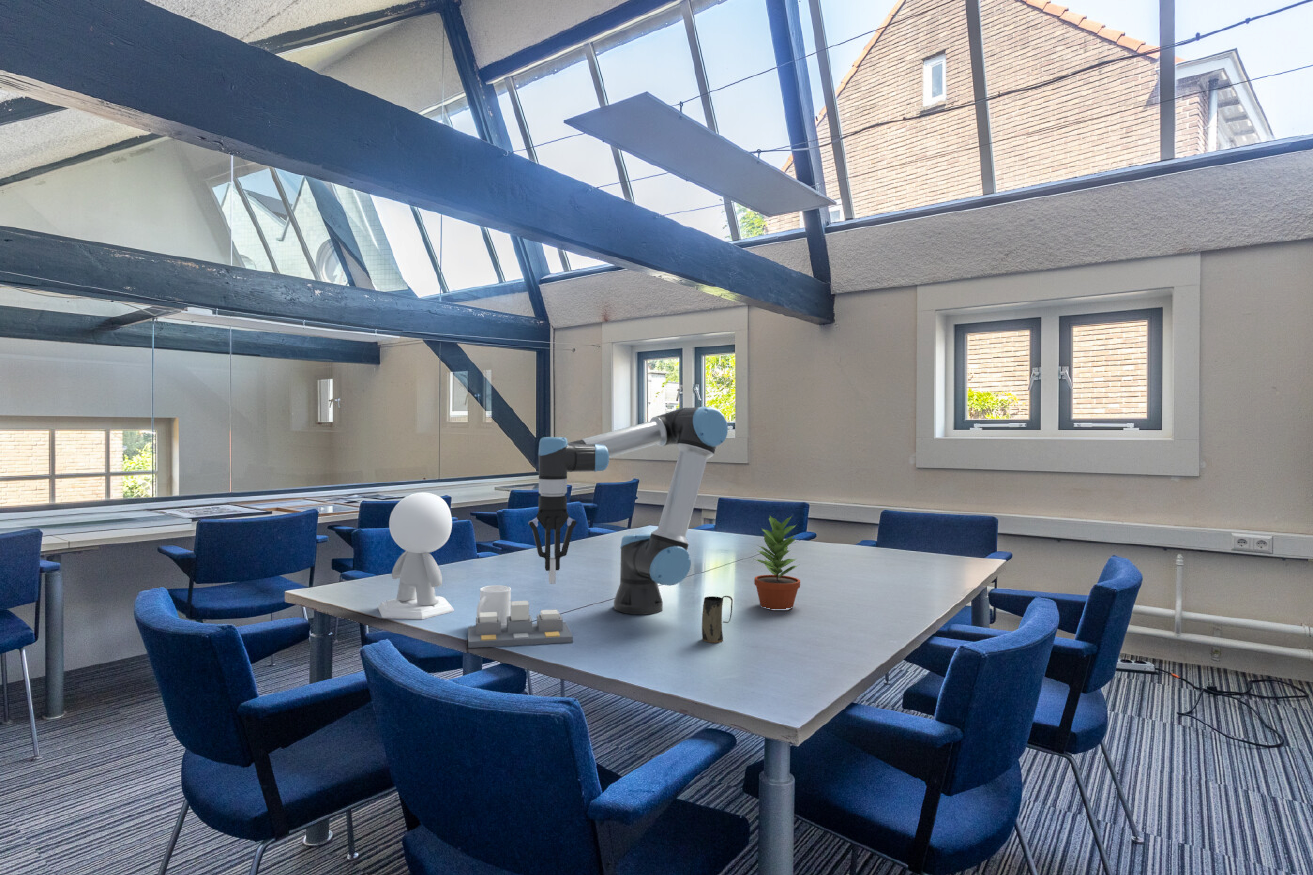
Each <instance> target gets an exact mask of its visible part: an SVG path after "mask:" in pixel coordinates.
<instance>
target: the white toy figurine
mask: <svg viewBox="0 0 1313 875" xmlns="http://www.w3.org/2000/svg"><path fill="white" fill-rule="evenodd" d="M452 518H453V517H452V513H451V509H450V507H449V504H447V502H446V500H445V499H443V498H442V497H441V496H439V495H437V494H435V493H431V492H425V491H424V492H422V491H421V492H415V493H412V494H409V495H407V496H405V497H403V498H402V499H401V500H399V502H398V503H396V504H395V506H394V507H393V509H392V510H391V513H390V516H389V521H388V526H389V533H390V535H391V537H392V539H393V541H394V543H396V545H398V547H400V548H401V549H403V550H404V552H402V554H401V555H399V557H398V558H397V560H396V562H395V563H394V565H393V567H392V571H391V577H392V579H393V580H398V579H399V583H398V588H397V595H396V596H397V597H396V598H393V599H388V600H386V601H382V602H380V604H379V605H378V606H377V608H378V612H379V614H380V616H381V618H382V619H399V620H400V619H401V620H424V619H425V620H427V619H429V618H433V617H438V616H441V615H445V614H448V613H449V614H450V613H453V612H454V611H455V609H454V607H453V606H452V605H451V604H450V602H449V601H448V600H447V599H446V597H443V596H439V595H436V590H435V588H440V587H441V586H443V585H442V584H443V576H442V572H441V570H440V567H439V565H438V564H437V561H436V560H435V558H434V557H433V556H432V554H431V553H432V552H433V553H434V552H435V551H437V550H439V549H441V548H442V547H443V546H444V545H445V544H446V543H447V542H448V540H449V539H450V535H451V533H452V530H453V529H452V527H453V519H452Z"/></svg>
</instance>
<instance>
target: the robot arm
mask: <svg viewBox="0 0 1313 875" xmlns="http://www.w3.org/2000/svg"><path fill="white" fill-rule="evenodd" d="M728 427H729V426H728V422H727V419H726V418H725V415H724V414H723V412H721V411H720V410H719V409H717V408H715V407H711V406H698V407H680V408H677V409H674V410H672V411H669V412H666V413H665V412H664V413H663V414H660V415H656V416H653V417H652V418H650V420H649V421H646V422H643V423H640V424H639V423H638V424H635V425H631V426H627V427H623V428H620V429H617V430H611V431H609V432H605V433H604V432H603V433H600V434H597V435H592V436H588V437H586V438H581V439H577V440H573V441H570V442H568V438H566V436H563V437H562V436H558V437H557V436H556V437H555V436H546V437H545V436H544V437H541V438H540V439H539V444H538V445H539V446H538V453H537V454H538V494H539V496H538V511H537V513H536V517H535V518H534V519H532V520H529V521H528V522H527V523H528V526H529V527H530V529H531V530H532V534H533V537H534V542H535V546H536V551H537V555H538V556H539V558H540V557H541V558H543V559H544V569H545V572H548V582H549V585H550V584H551V585H552V584H553V585H555V584H556V578H557V577H556V574H557V571H560V570H561V568H560V567H561V558H562V557H566V556H567V554H568V550H569V546H570V543H571V538H572V534H573V530H574V528H575V527H576V525H577V523H578V522H577V520H575V519H573V518H571V517H570V515H569V513H568V507H567V506H568V496H567V495H566V494H567V493H568V473H572V472H575V473H576V472H577V473H578V472H579V473H581V472H582V473H583V472H585V473H587V472H594V473H596V472H604V471H605V470H606V469H607V468H608V466H609V464H610V458H613V457H618V456H620V455H624V454H627V453H628V454H629V453H631V452H634V451H638V450H639V451H640V450H642V449H645V448H650V447H653V446H658V447H660V448H661V447H665V446H669V445H670V446H671V445H676V447H677V449H678V450H679V454H678V456H677V459H676V460H677V462H676V465H675V468H674V472H673V474H672V478H671V481H670V485H669V488H668V492H667V496H666V499H665V502H664V506H663V510H662V513H661V516H660V520H659V523H658V527H657V529H655V530H653V531H652V532H651V533H644V534H643V533H642V534H628V535H624V536H622V538H621V543H620V547H619V548H620V576H619V577H620V579H619V580H620V581H619V585H618V589H617V592H616V593H615V598H614V600H613V609H614V610H615V611H617V612H620V613H622V614H628V615H629V614H630V615H648V614H649V615H650V614H656V613H660V612H661V611H663V608H664V606H663V604H664V602H663V599H662V595H661V592H660V588H659V585H661V586H663V585H664V586H667V587H669V586H675V585H678V584H679V583H681V582H682V581H683V580H684V579H686V578H687V576H688V574H689V572H690V570H691V565H692V563H691V562H692V560H691V557H690V554H689V552H688V550H689V544H690V542H689V541H688V539H687V534H688V533H687V532H688V529H689V527H690V523H691V519H692V517H693V511H694V508H695V504H696V502H697V497H698V494H699V491H700V490H699V489H700V487H701V483H702V480H703V476H704V472H705V469H706V466H707V461H708V460H709V459H710V458H712V457H714V456H715V453H716V448H717V447H718V446H720V445H721V444H723V443H724V441H726V439H727V437H728V431H729V428H728ZM538 522H539V524H540V525H541V526H542V528H543V529H544V551H543V547H542V542H541V538H540V534H539V530H538V528H537V527H538V526H539V524H538ZM565 524H566V525H567V527H566V530H565V531H566V532H565V535H564V538H563V543H562V546H561V528H563V526H564V525H565ZM552 530H553V532H554V542H553V543H554V548H553V550H554V556H553V557H551V534H552Z"/></svg>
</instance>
